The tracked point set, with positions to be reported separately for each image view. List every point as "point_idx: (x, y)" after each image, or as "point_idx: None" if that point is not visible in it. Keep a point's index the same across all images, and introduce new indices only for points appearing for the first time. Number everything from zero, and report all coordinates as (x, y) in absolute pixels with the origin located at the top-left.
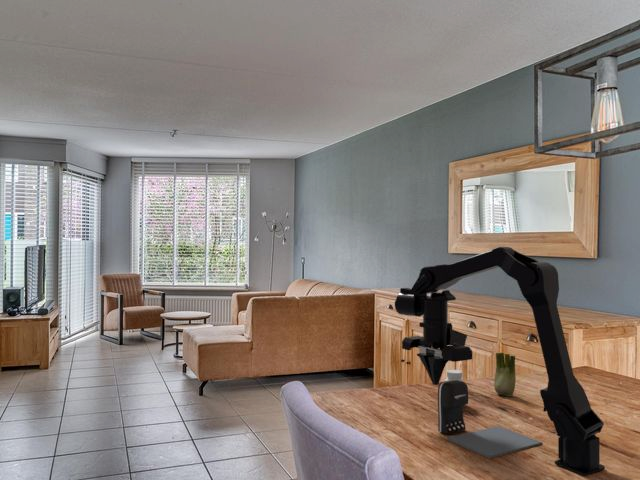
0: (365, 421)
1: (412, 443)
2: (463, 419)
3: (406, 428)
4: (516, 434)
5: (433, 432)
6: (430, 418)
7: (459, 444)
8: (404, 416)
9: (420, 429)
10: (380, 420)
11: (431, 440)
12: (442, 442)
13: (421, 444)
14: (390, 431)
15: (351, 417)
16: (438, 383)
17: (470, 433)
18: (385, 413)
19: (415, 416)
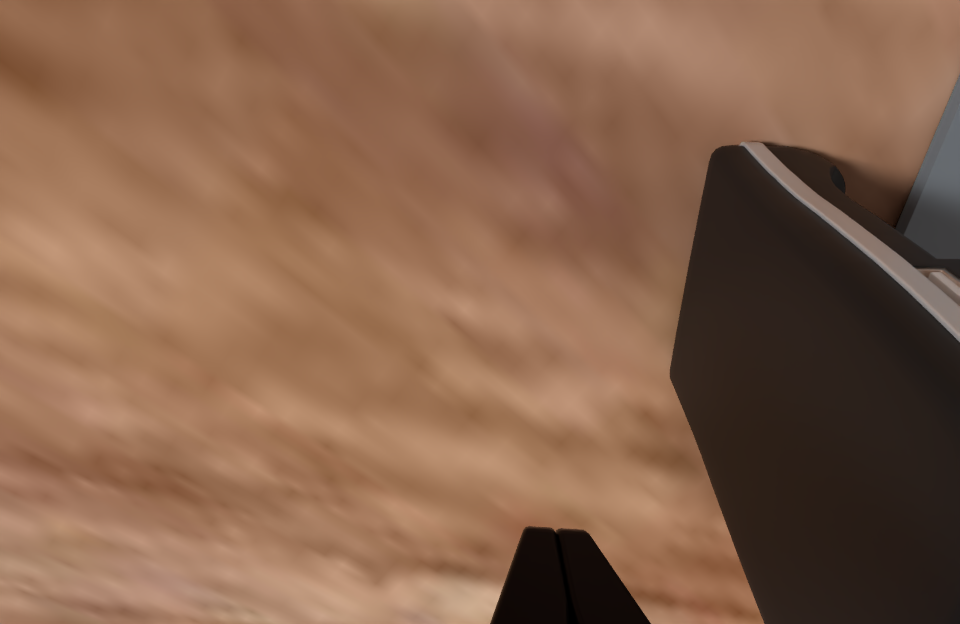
0: (176, 586)
1: (678, 604)
2: (829, 177)
3: (451, 483)
4: None
5: (644, 399)
6: (360, 164)
7: None
8: (190, 319)
9: (531, 426)
10: (201, 511)
11: None
12: None
13: (728, 581)
14: (436, 581)
15: (55, 604)
16: (590, 540)
17: (928, 229)
18: (44, 390)
19: (235, 240)
